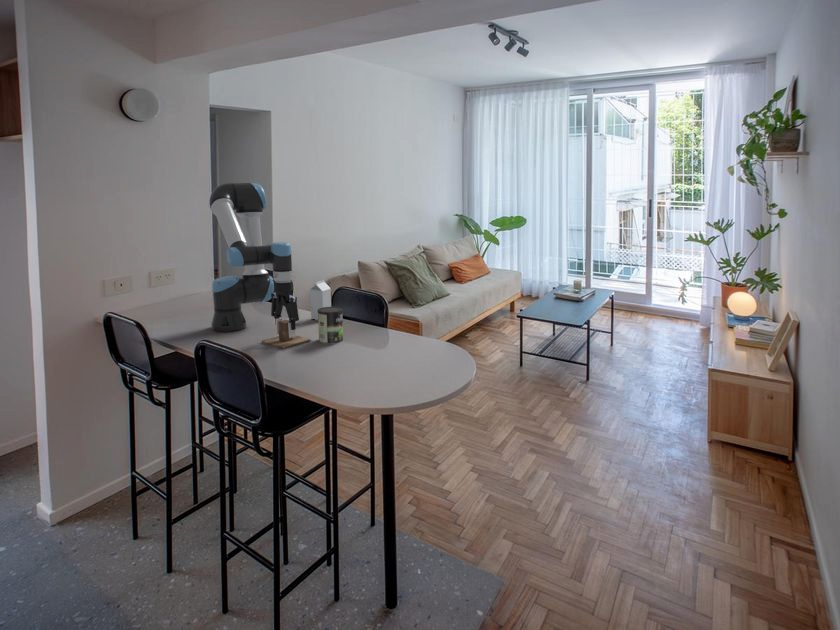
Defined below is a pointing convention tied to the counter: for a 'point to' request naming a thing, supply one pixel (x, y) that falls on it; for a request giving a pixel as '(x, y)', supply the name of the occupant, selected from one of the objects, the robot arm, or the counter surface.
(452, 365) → the counter surface
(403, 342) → the counter surface
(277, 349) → the mat
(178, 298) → the counter surface
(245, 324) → the robot arm
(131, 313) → the counter surface
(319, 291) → the milk carton
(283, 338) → the wooden peg stand
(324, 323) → the coffee can
